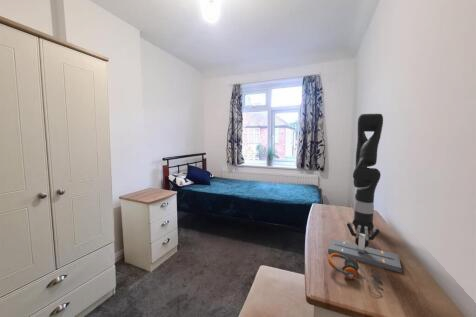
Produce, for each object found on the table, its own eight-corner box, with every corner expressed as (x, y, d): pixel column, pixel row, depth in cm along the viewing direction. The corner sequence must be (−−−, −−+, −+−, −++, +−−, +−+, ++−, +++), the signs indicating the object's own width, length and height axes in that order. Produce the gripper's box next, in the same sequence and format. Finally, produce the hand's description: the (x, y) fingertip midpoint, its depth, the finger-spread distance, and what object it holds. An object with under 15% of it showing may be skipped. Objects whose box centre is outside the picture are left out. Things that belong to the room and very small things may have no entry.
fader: (357, 246, 100) (358, 232, 100) (364, 248, 99) (365, 234, 98) (357, 251, 96) (358, 236, 96) (364, 253, 95) (365, 238, 94)
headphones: (386, 293, 70) (326, 260, 80) (381, 306, 71) (322, 272, 81) (385, 268, 83) (334, 243, 94) (381, 279, 85) (330, 253, 95)
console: (331, 242, 110) (331, 238, 110) (397, 258, 95) (397, 254, 95) (327, 252, 100) (328, 248, 100) (401, 272, 85) (401, 267, 85)
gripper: (381, 211, 95) (378, 246, 97) (347, 205, 103) (345, 238, 104) (382, 215, 89) (379, 254, 90) (346, 209, 96) (344, 245, 98)
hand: (361, 245), depth 97 cm, fingers closed on fader, 2 cm apart
